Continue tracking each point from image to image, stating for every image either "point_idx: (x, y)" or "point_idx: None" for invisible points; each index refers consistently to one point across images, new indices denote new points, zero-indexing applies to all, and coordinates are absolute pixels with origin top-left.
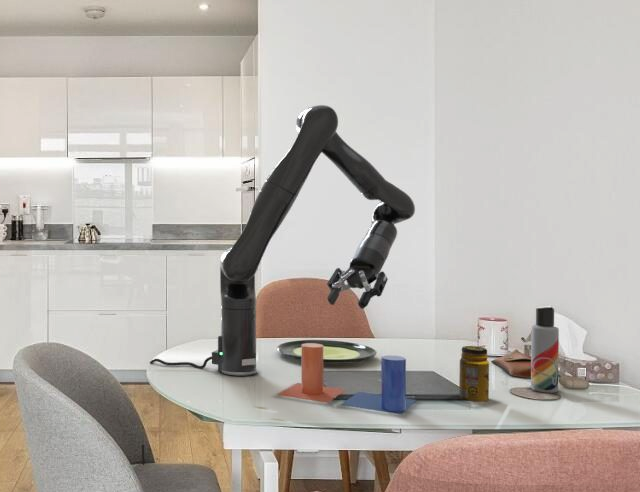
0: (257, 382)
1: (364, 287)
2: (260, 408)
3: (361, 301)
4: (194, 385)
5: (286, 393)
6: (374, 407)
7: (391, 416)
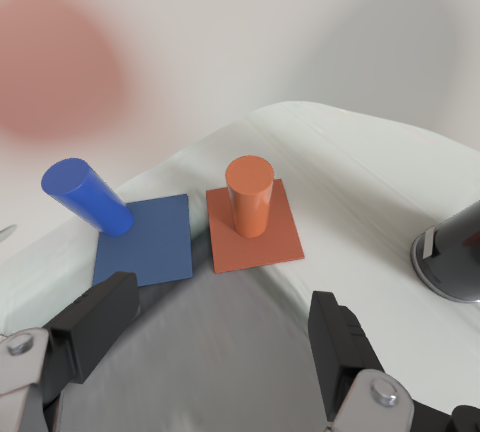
0: (363, 228)
1: (40, 367)
2: (263, 136)
3: (110, 276)
4: (404, 156)
5: (274, 191)
6: (142, 210)
7: None
